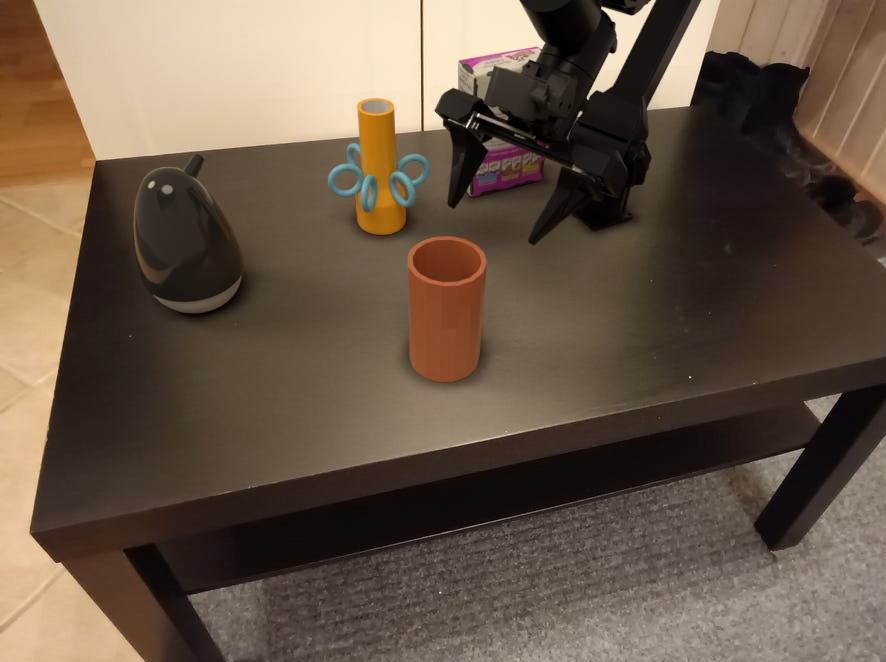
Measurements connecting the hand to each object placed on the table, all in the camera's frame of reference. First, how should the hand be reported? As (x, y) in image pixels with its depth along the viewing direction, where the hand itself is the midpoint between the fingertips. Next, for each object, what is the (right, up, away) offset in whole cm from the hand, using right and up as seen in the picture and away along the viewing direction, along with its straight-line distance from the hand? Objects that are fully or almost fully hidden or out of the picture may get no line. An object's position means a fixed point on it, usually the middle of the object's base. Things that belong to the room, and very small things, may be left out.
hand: (489, 225), depth 66 cm
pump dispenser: (-31, -6, +10) cm, 33 cm away
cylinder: (-13, +4, +21) cm, 25 cm away
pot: (-5, -12, +5) cm, 14 cm away
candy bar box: (+2, +11, +29) cm, 31 cm away
